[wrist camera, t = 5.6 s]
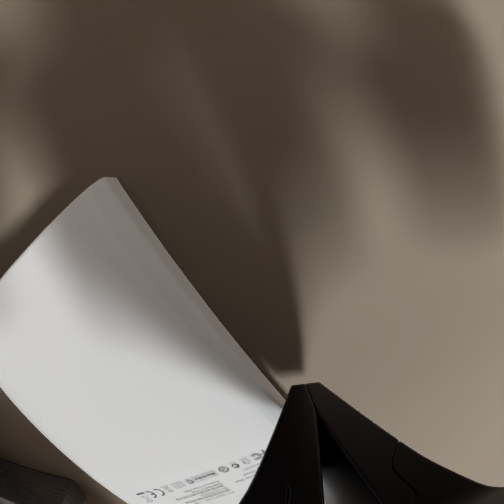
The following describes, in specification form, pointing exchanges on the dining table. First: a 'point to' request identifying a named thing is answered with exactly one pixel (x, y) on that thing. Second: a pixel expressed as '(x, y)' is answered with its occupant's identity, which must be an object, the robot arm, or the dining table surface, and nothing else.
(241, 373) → the external hard drive
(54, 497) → the grey door handle
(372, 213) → the dining table surface
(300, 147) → the dining table surface
